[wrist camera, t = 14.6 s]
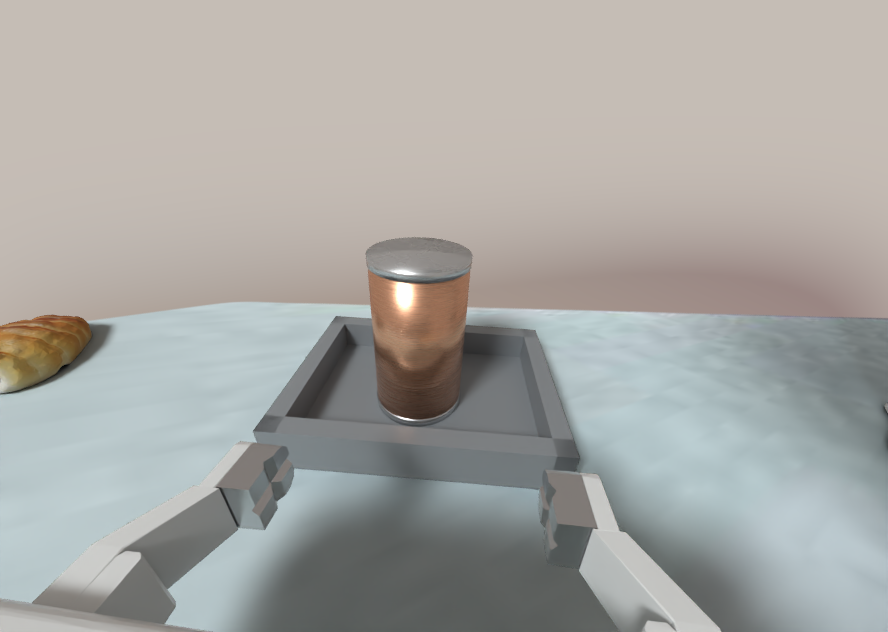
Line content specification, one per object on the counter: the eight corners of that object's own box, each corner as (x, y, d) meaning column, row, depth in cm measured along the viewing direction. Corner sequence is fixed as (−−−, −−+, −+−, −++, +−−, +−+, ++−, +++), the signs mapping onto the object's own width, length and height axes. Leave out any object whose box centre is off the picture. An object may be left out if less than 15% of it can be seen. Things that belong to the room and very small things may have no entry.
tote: (529, 357, 30) (535, 330, 28) (566, 491, 19) (579, 458, 17) (340, 343, 31) (336, 316, 29) (265, 465, 19) (252, 431, 18)
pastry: (35, 335, 30) (10, 298, 28) (121, 329, 32) (102, 294, 30) (-82, 408, 22) (-128, 364, 20) (39, 397, 24) (7, 355, 22)
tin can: (460, 370, 27) (471, 240, 21) (459, 430, 21) (473, 275, 16) (386, 365, 27) (379, 235, 21) (368, 423, 21) (351, 268, 16)
